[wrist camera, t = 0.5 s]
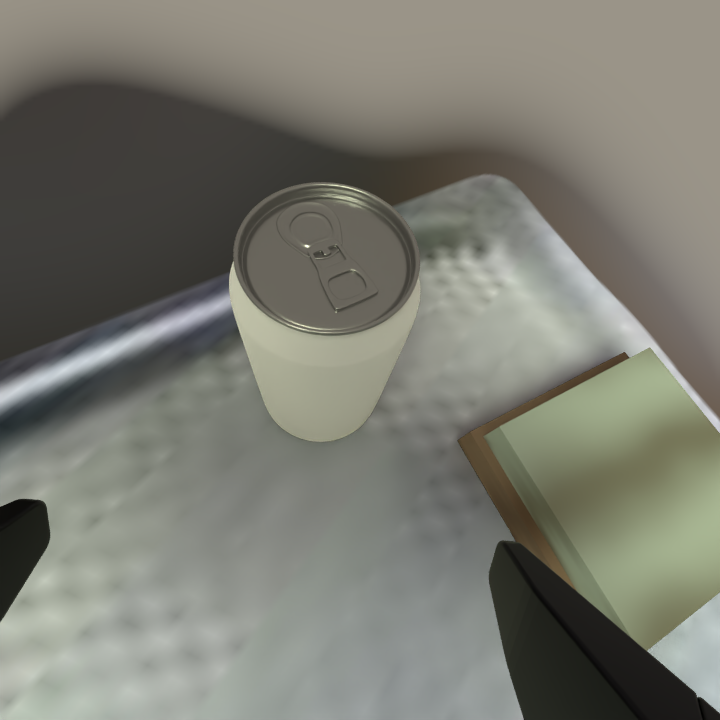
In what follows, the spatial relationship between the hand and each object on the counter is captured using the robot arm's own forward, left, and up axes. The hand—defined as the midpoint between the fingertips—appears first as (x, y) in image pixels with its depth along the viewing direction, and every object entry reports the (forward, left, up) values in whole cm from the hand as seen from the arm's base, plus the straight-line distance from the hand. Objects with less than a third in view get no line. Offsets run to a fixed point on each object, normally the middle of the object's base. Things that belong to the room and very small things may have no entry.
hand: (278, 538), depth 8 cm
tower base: (-5, -15, -13) cm, 21 cm away
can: (+7, -4, -13) cm, 15 cm away
